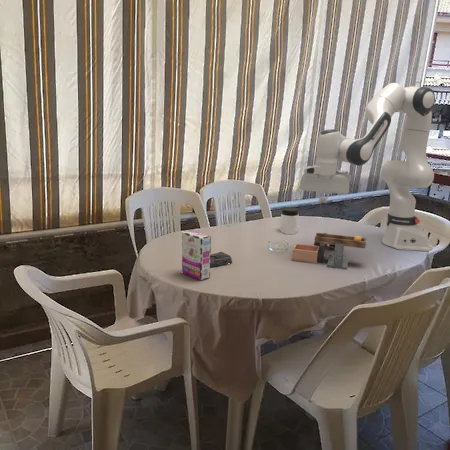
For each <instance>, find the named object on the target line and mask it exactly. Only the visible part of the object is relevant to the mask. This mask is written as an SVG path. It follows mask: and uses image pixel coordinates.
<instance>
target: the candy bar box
mask: <svg viewBox="0 0 450 450" xmlns="http://www.w3.org/2000/svg"><path fill="white" fill-rule="evenodd" d="M181 234H182V236H181V242H182V243H181V247H182V248H181V253H182V255H181V257H182V258H181V265H182V266H181V268H182V269H181V273H182V272H183V273H182V274H184V273H185V274H184V275H186V274H187V275H186V276H188V275H190V276H189V277H191V276H192V277H191V278H193V277H194V279H196V278H197V279H196V280H198V279H199V280H198V281H200V280H202V281H205V280H208V279H210V278H211V267H210V255H211V254H212V253H211V252H212V251H211V250H212V249H211V245H212V240H211V239H212V236H211V235H208V234H205V233H201V232H199V231H196V230H191V229H190V230H185V231H182V232H181ZM207 278H208V279H207ZM204 279H205V280H204Z"/></svg>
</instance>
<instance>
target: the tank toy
mask: <svg viewBox="0 0 450 450" xmlns="http://www.w3.org/2000/svg"><path fill="white" fill-rule="evenodd" d="M228 263H230V264H228ZM224 264H226V265H227V264H228V265H231V264H233V259H232V257H231V255H229V254H227V253H226V252H224V251H219V252H216V253H211V255H210V268H213V267H218V266H221V265H224Z"/></svg>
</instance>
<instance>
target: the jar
mask: <svg viewBox="0 0 450 450" xmlns="http://www.w3.org/2000/svg"><path fill="white" fill-rule="evenodd" d="M281 209H282V210H281V215H280V226H279V230H280V231H279V232H280V233H282V234H285V235H296V234H298V231H299V219H300V218H299V217H300V214H299V208H296V207H288V206H287V207H282V208H281Z"/></svg>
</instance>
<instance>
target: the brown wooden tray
mask: <svg viewBox="0 0 450 450" xmlns="http://www.w3.org/2000/svg"><path fill="white" fill-rule="evenodd" d="M354 237H355V236H351V235H350V236H348V235H341V234H330V233H327V234H323V233H320V232H316V234H315V236H314V239H315V240H314V241H315V242H314V243H321V244H327V245H329V244H330V245H335V243H343V246H344V247H349V248H357V249H366V245H367V238H366V237H361V239H362V240H361V241H355V240H354Z"/></svg>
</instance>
